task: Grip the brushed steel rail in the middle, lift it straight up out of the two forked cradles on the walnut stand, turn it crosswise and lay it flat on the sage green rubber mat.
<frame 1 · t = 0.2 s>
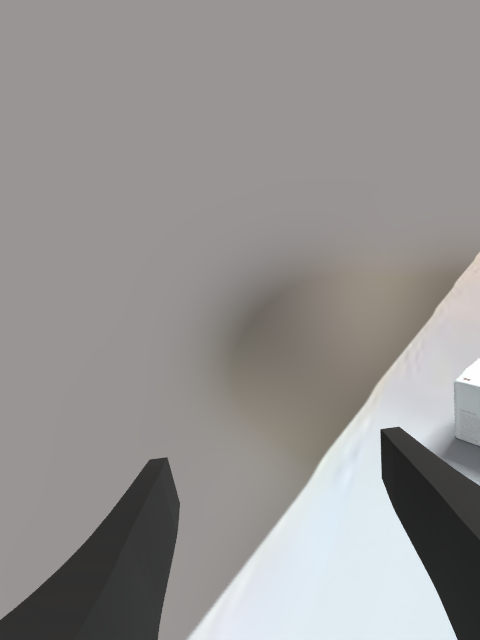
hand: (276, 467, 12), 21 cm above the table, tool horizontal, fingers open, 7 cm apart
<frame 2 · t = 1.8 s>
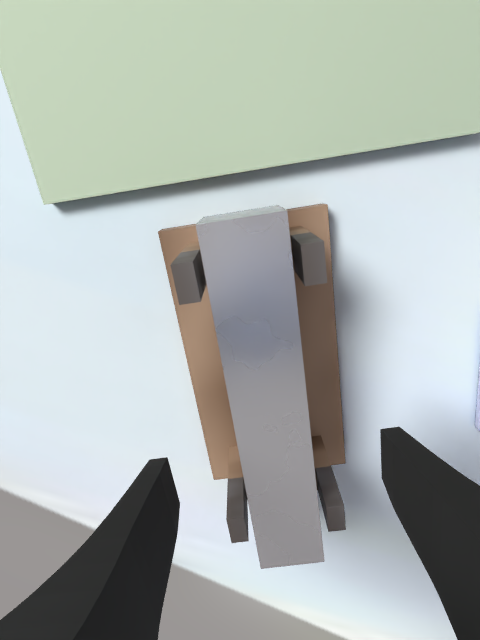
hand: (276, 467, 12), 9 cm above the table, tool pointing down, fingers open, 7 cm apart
mat: (241, 58, 16), on the table
rail: (266, 385, 18), point 3 cm above the table, touching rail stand
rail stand: (261, 353, 21), on the table
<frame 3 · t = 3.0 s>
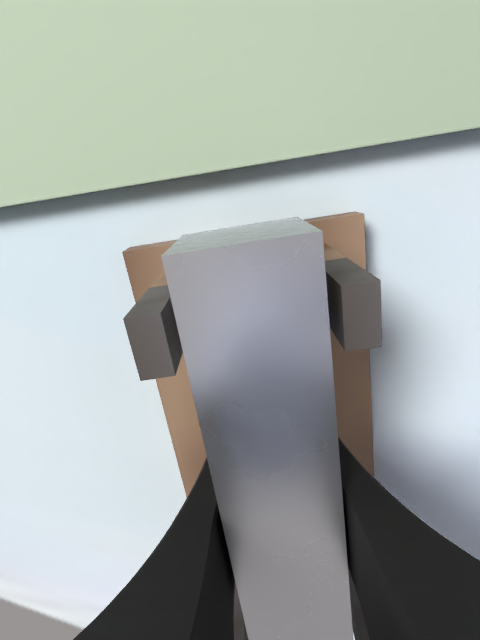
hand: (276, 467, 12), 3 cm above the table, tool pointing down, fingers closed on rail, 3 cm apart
rail: (276, 469, 12), point 3 cm above the table, touching gripper, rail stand
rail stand: (268, 409, 16), on the table
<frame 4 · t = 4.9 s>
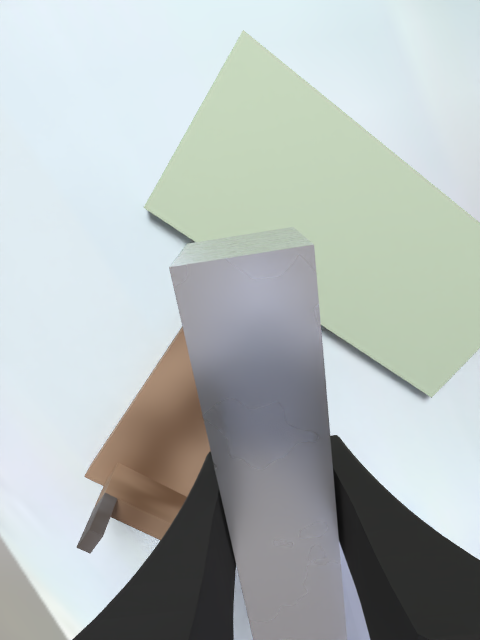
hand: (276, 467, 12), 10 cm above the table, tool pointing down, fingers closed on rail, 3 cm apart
mat: (348, 241, 20), on the table
rail: (274, 461, 13), point 10 cm above the table, touching gripper
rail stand: (197, 415, 24), on the table
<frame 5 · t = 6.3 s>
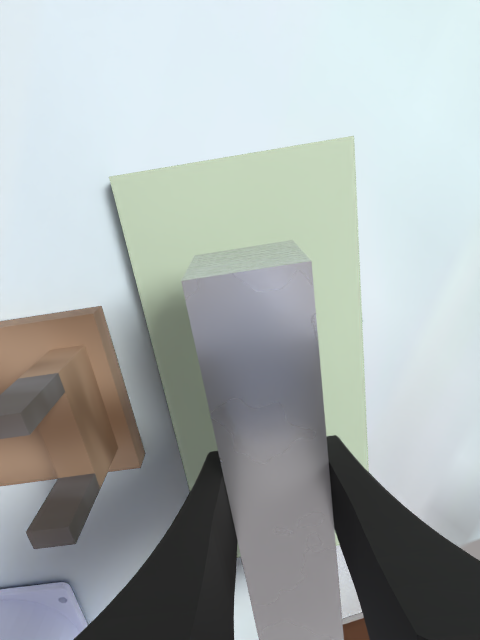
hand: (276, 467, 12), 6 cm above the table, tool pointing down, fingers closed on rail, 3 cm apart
mat: (264, 384, 18), on the table
rail: (274, 456, 14), point 4 cm above the table, touching gripper
food container: (378, 636, 24), on the table
when the fingers open (3 cm above the table, at t = 7.1 s): rail stays where it is, resting on mat.
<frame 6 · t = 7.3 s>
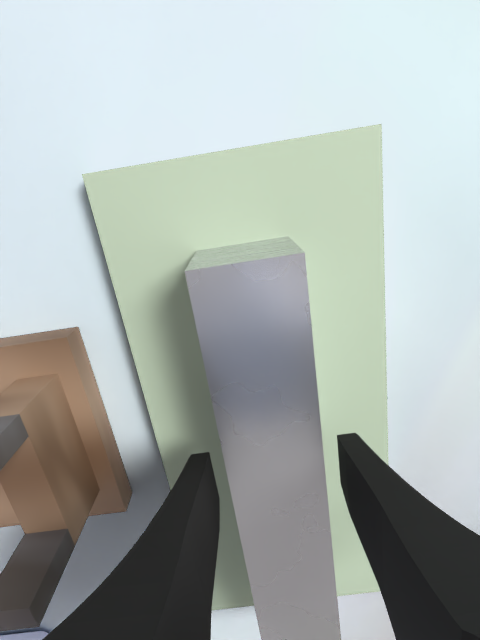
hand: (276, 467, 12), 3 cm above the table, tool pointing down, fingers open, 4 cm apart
mat: (269, 416, 15), on the table
rail: (272, 445, 15), point 1 cm above the table, touching mat
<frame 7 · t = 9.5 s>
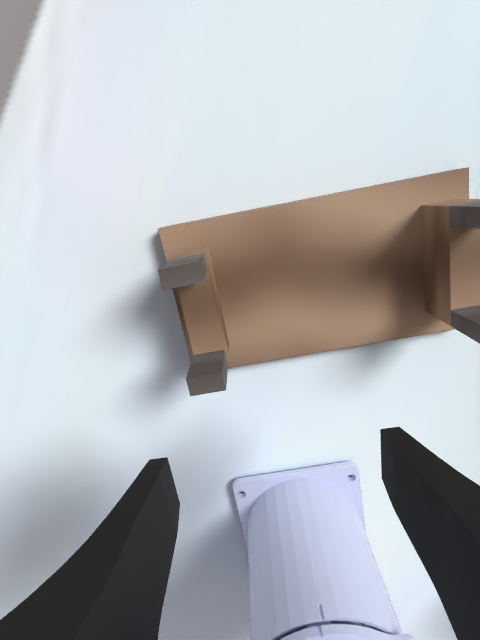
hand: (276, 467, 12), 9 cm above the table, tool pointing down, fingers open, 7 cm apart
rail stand: (315, 275, 20), on the table
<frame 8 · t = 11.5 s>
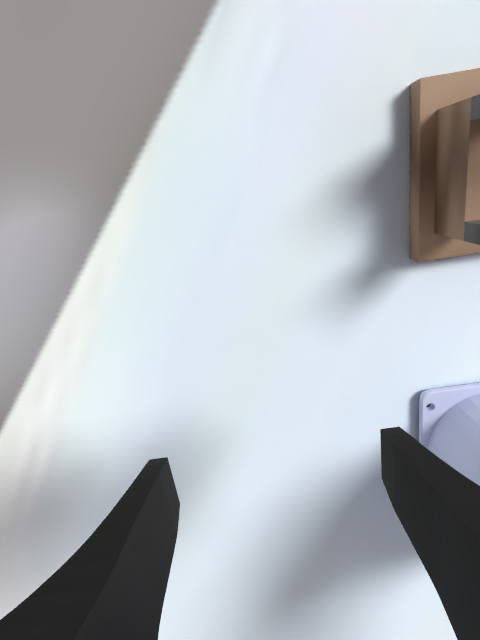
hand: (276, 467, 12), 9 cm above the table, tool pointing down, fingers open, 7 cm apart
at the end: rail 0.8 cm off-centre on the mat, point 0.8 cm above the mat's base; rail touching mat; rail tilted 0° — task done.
